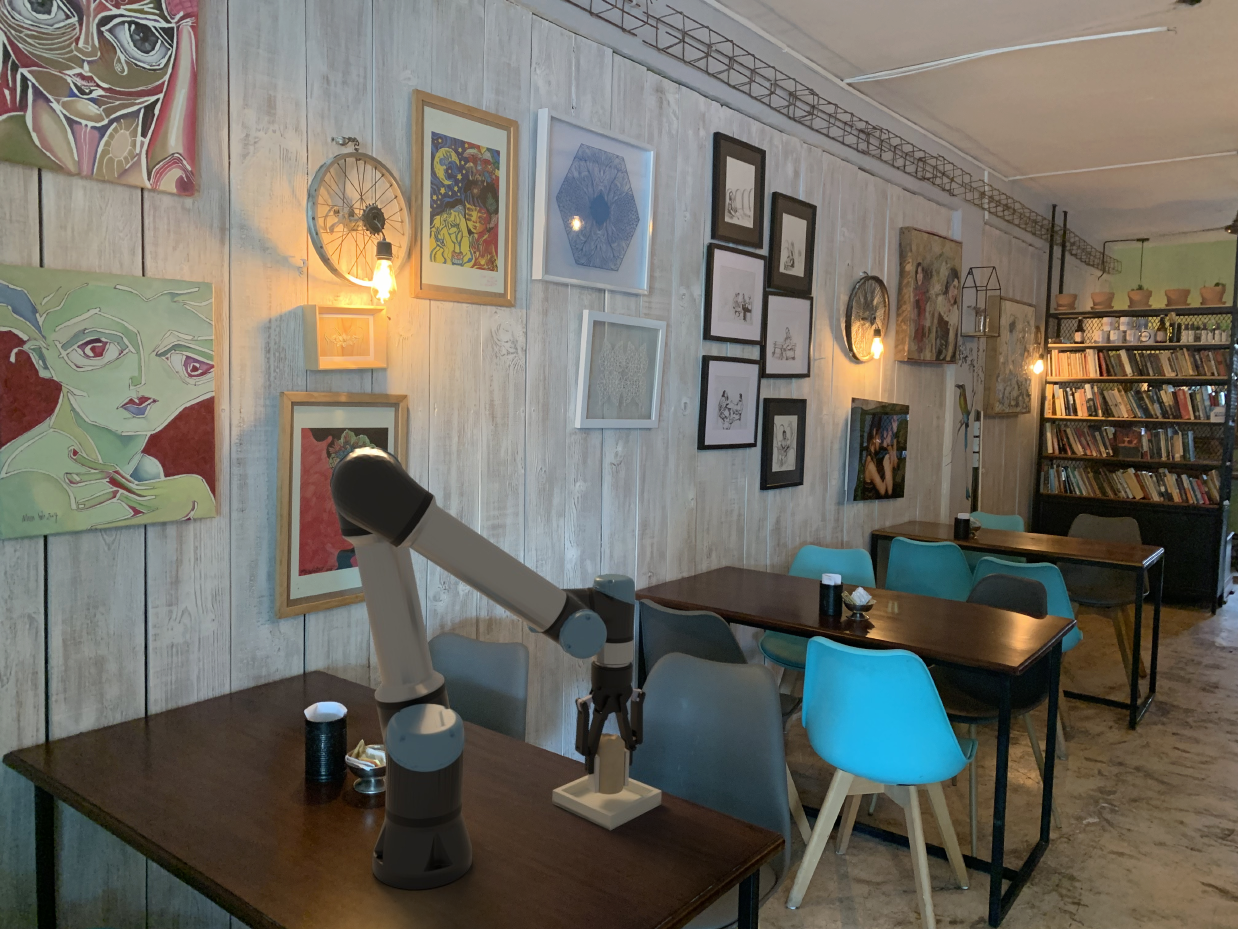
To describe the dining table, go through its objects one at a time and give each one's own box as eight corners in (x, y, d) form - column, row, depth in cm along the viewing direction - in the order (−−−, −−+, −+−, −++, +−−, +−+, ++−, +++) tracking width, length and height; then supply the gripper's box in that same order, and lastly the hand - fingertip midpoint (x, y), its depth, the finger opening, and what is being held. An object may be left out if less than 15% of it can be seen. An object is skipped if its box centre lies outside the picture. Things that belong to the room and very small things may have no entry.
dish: (661, 804, 161) (661, 790, 160) (610, 830, 150) (610, 816, 150) (604, 780, 170) (604, 767, 170) (552, 803, 159) (552, 790, 159)
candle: (624, 783, 162) (626, 730, 162) (621, 796, 157) (623, 741, 156) (594, 780, 163) (596, 728, 162) (591, 793, 157) (592, 739, 157)
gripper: (644, 649, 166) (640, 769, 168) (556, 662, 157) (553, 788, 158) (666, 660, 160) (662, 784, 161) (576, 674, 150) (572, 805, 152)
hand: (608, 786), depth 160 cm, fingers closed on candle, 5 cm apart
